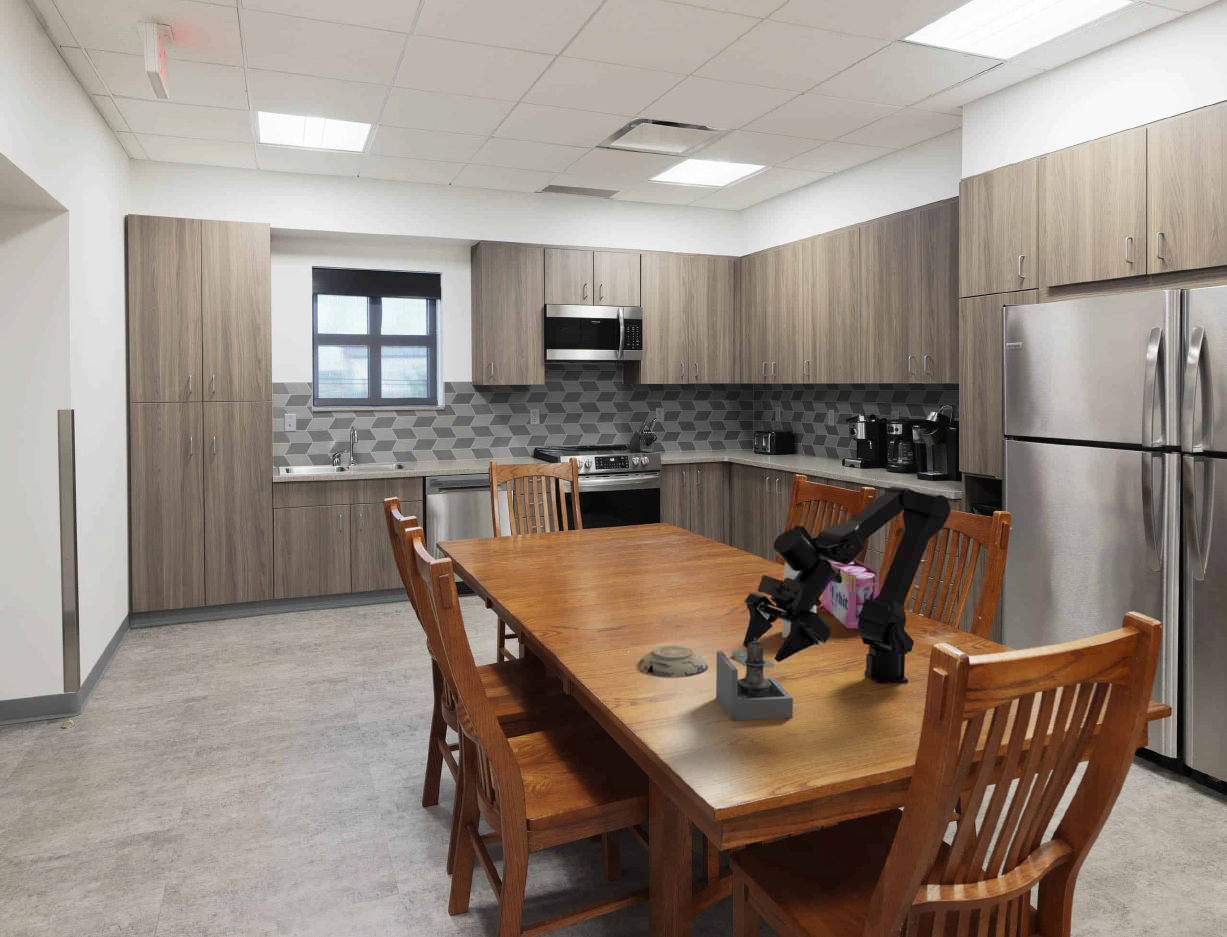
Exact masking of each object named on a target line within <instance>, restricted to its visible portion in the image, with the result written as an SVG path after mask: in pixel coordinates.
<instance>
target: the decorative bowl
mask: <svg viewBox="0 0 1227 937" xmlns="http://www.w3.org/2000/svg"><path fill="white" fill-rule="evenodd" d="M637 664H638V666H637V668H638V670H640V671H641V670H642V672H643V673H645V672H647V673H648V671H649V670H650V668H652V670H653V675H654V676H656V677H662V678H688V677H695V676H698V675H701V674H703V673H705V672H707V670H709V664H708V663H707V662H706V660H705V659H704V658H703V657H702V656H701V655H700V654H698V653H697V652H695V651H693V650H692V649H691V648H689V647H685V646H682V645H661V646H657V647H655V648H653V649H652V651H649V652H648V653H646V654H644V656H643V657H642V658H640V659H639V661H638V662H637Z"/></svg>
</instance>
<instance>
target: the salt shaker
mask: <svg viewBox="0 0 1227 937" xmlns="http://www.w3.org/2000/svg"><path fill="white" fill-rule="evenodd" d="M753 640H754V641H753V642H750V643H749V644H748V645H747V648H746V652H747V660H746V661H745V663H746V666H745V668H746V670H745V671H746V673H745V676H744V677H743V678H739V679H740V680H739V682H738V683H739V685H740V689H741V691H742V693H743V694H744V695H745V696H744V697H743V698H762V697H764V696H765V695H766V694H767V693H768V691H769V687H770V686H771V682H770V681H768V680H766V679H764V678H765V675H764V667H763V665H764V664H765V662H764V661H763V659H764V645H763V644H762V643H761V642H758V640H757V639H756V637H755V638H754V639H753ZM756 640H757V641H756Z"/></svg>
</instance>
